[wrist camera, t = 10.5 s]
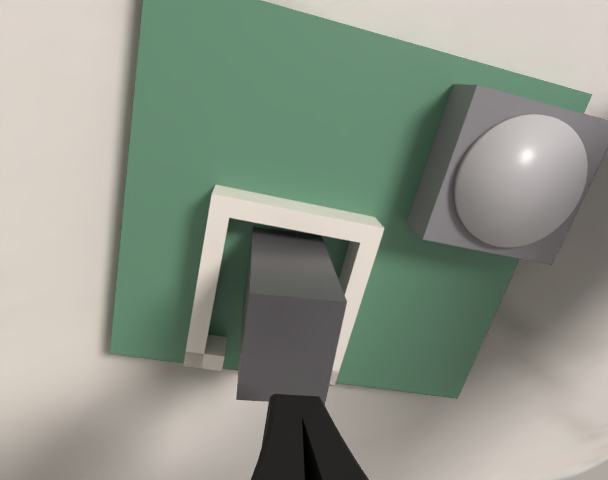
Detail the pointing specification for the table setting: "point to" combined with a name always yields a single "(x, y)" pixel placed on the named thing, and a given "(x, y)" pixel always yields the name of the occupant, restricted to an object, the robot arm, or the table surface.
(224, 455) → the table surface
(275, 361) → the plug
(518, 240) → the board
